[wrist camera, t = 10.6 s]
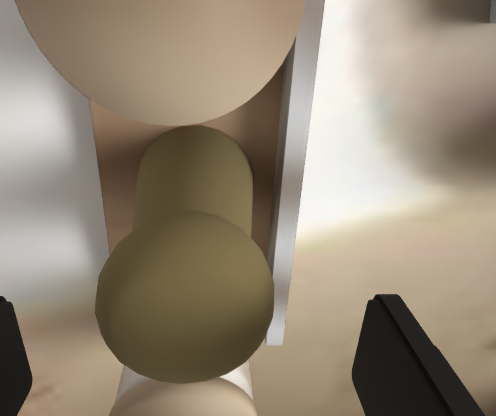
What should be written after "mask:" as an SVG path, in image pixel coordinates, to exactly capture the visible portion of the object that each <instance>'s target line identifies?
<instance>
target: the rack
mask: <svg viewBox="0 0 496 416" xmlns="http://www.w3.org/2000/svg"><path fill="white" fill-rule="evenodd" d="M15 2H16V5H17V8H18V10H19V13H20V15H21V17H22V19H23V21H24V23H25V25H26V27H27V29H28V31H29V33H30V35H31V36H32V38H33V39H34V41H35V42H36V44H37V45H38V47H39V48H40V50H41V52H42V53H43V54H44V55H45V57H46V58H47V59H48V60H49V62H50V63H51V64H52V65H53V67H54V68H55V69H56V70H57V71H58V72H59V73H60V74H61V75H62V76H63V77H64V78H65V79H66V80H67V81H68V82H69V83H70V84H71V85H72V86H74V87H75V88H76V89H77V90H78V91H80V92H81V93H82V94H83V95H85V96H86V97H88V98H89V99H90V107H91V114H92V122H93V130H94V137H95V145H96V152H97V160H98V167H99V175H100V182H101V190H102V197H103V205H104V212H105V220H106V227H107V235H108V242H109V250H110V255H111V253H112V252H113V250H114V248H115V247H116V245H117V244H118V243H119V242H120V241H121V240H122V239H123V238H124V237H125V236H127V235H128V234H129V233H130V232H132V226H133V216H134V206H135V196H136V186H137V177H138V171H139V165H140V160H141V158H142V157H143V155H144V153H145V151H146V150H147V148H148V146H149V145H150V144H151V143H152V142H153V141H154V140H156V139H157V138H158V137H159V136H160V135H162V134H163V133H165V132H167V131H170V130H172V129H175V128H177V127H180V126H191V125H203V126H206V127H210V128H214V129H218V130H220V131H222V132H223V133H225V134H227V135H228V136H230V137H231V138H233V139H235V140H236V142H237V143H238V144H239V145H240V146H241V148H242V149H243V150H244V151H245V152H246V154H247V156H248V159H249V161H250V164H251V167H252V169H253V203H252V226H251V239H252V240H253V241H254V242H255V243H256V244H257V246H258V247H259V248H260V249H261V250H262V252H263V254H264V257H265V259H266V262H267V264H268V266H269V269H270V271H271V274H272V278H273V281H274V312H273V319H272V321H271V324H270V326H269V329H268V331H267V334H266V336H265V343H266V346H268V345H282V343H283V335H284V327H285V319H286V311H287V303H288V295H289V287H290V279H291V270H292V262H293V254H294V246H295V238H296V230H297V222H298V214H299V206H300V198H301V190H302V181H303V173H304V165H305V157H306V149H307V141H308V133H309V125H310V117H311V109H312V100H313V92H314V84H315V76H316V68H317V60H318V52H319V44H320V36H321V28H322V19H323V11H324V3H325V0H15ZM109 416H257V411H256V407H255V405H254V402H253V396H252V388H251V379H250V371H249V363H248V360H247V361H246V362H245V363H244V364H242V365H241V366H239V367H238V368H236V369H234V370H233V371H231V372H230V373H228V374H226V375H223V376H220V377H217V378H214V379H211V380H208V381H205V382H196V383H187V384H178V383H169V382H160V381H157V380H154V379H151V378H148V377H145V376H142V375H139V374H137V373H136V372H134V371H133V370H131V369H130V368H128V367H127V366H125V365H124V368H123V372H122V376H121V380H120V384H119V388H118V392H117V396H116V400H115V404H114V406H113V407H112V409H111V411H110V414H109Z"/></svg>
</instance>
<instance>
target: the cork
mask: <svg viewBox="0 0 496 416" xmlns="http://www.w3.org/2000/svg"><path fill="white" fill-rule="evenodd" d="M252 203H253V169H252V167H251V164H250V161H249V159H248V156H247V154H246V152H245V151H244V150H243V149H242V148H241V146H240V145H239V144H238V143H237V142H236V140H235V139H233V138H231V137H230V136H228V135H227V134H225V133H223V132H222V131H220V130H218V129H214V128H210V127H206V126H203V125H191V126H180V127H177V128H175V129H172V130H170V131H167V132H165V133H163V134H162V135H160V136H159V137H158V138H157V139H156V140H154V141H153V142H152V143H151V144H150V145H149V146H148V148H147V150H146V151H145V153H144V155H143V157H142V158H141V160H140V165H139V171H138V177H137V186H136V196H135V206H134V216H133V226H132V232H130V233H129V234H128V235H127V236H125V237H124V238H123V239H122V240H121V241H120V242H119V243H118V244H117V245H116V247H115V248H114V250H113V252H112V253H111V255H110V257H109V258H108V260H107V262H106V263H105V265H104V267H103V269H102V271H101V273H100V276H99V280H98V287H97V294H96V305H95V314H96V318H97V321H98V325H99V328H100V332H101V335H102V337H103V339H104V341H105V342H106V344H107V346H108V347H109V349H110V350H111V351H112V352H113V354H114V355H115V356H116V358H117V359H118V360H119V362H121V363H122V364H124V365H125V366H127V367H128V368H130V369H131V370H133V371H134V372H136V373H137V374H139V375H142V376H145V377H148V378H151V379H154V380H157V381H160V382H169V383H178V384H187V383H196V382H205V381H208V380H211V379H214V378H217V377H220V376H223V375H226V374H228V373H230V372H231V371H233V370H234V369H236V368H238V367H239V366H241V365H242V364H244V363H245V362H246V361H247V360H248V359H249V358H250V357H251V355H252V354H253V353H254V352H255V351H256V350H257V349H258V347H259V346H260V344H261V343H262V341H263V340H264V338H265V336H266V334H267V331H268V329H269V326H270V324H271V321H272V319H273V312H274V281H273V278H272V274H271V271H270V269H269V266H268V264H267V262H266V259H265V257H264V254H263V252H262V250H261V249H260V248H259V247H258V246H257V244H256V243H255V242H254V241H253V240H252V239H251V226H252Z"/></svg>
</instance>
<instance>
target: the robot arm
mask: <svg viewBox="0 0 496 416" xmlns="http://www.w3.org/2000/svg"><path fill="white" fill-rule="evenodd" d="M352 380H353V384H354V387H355V389H356V392H357V394H358V397H359V400H360V402H361V405H362V407H363V410H364V413H365V415H366V416H485V415H484V413H483V412H482V410H481V409H480V408H479V406H478V405H477V403H476V402H475V400H474V399H473V398H472V396H471V395H470V393H469V392H468V390H467V389H466V388H465V386H464V385H463V383H462V382H461V380H460V379H459V378H458V376H457V375H456V373H455V372H454V370H453V369H452V367H451V366H450V365H449V363H448V362H447V360H446V359H445V357H444V356H443V355H442V353H441V352H440V351H439V349H438V348H437V347H436V346H434V345H433V343H432V342H431V340H430V339H429V338H428V336H427V335H426V333H425V332H424V330H423V329H422V327H421V326H420V325H419V323H418V322H417V320H416V319H415V317H414V316H413V314H412V313H411V312H410V310H409V309H408V307H407V306H406V304H405V303H404V301H403V300H402V299H401V297H400V296H399V295H397V294H377V295H375V297H374V299H373V300H369V301H368V303H367V307H366V311H365V316H364V320H363V324H362V329H361V333H360V337H359V342H358V346H357V350H356V355H355V359H354V363H353V368H352ZM31 386H32V373H31V370H30V366H29V362H28V359H27V355H26V351H25V348H24V344H23V341H22V337H21V333H20V330H19V326H18V322H17V319H16V315H15V311H14V308H13V305H12V303H11V302H8V301H6V299H5V298H4V297H3V296H0V416H17V414H18V412H19V410H20V409H21V407H22V405H23V403H24V401H25V399H26V397H27V396H28V394H29V392H30V389H31Z"/></svg>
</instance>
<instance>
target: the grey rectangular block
mask: <svg viewBox="0 0 496 416" xmlns="http://www.w3.org/2000/svg"><path fill="white" fill-rule="evenodd" d="M489 23H496V0H491V8H490V22H489Z"/></svg>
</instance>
